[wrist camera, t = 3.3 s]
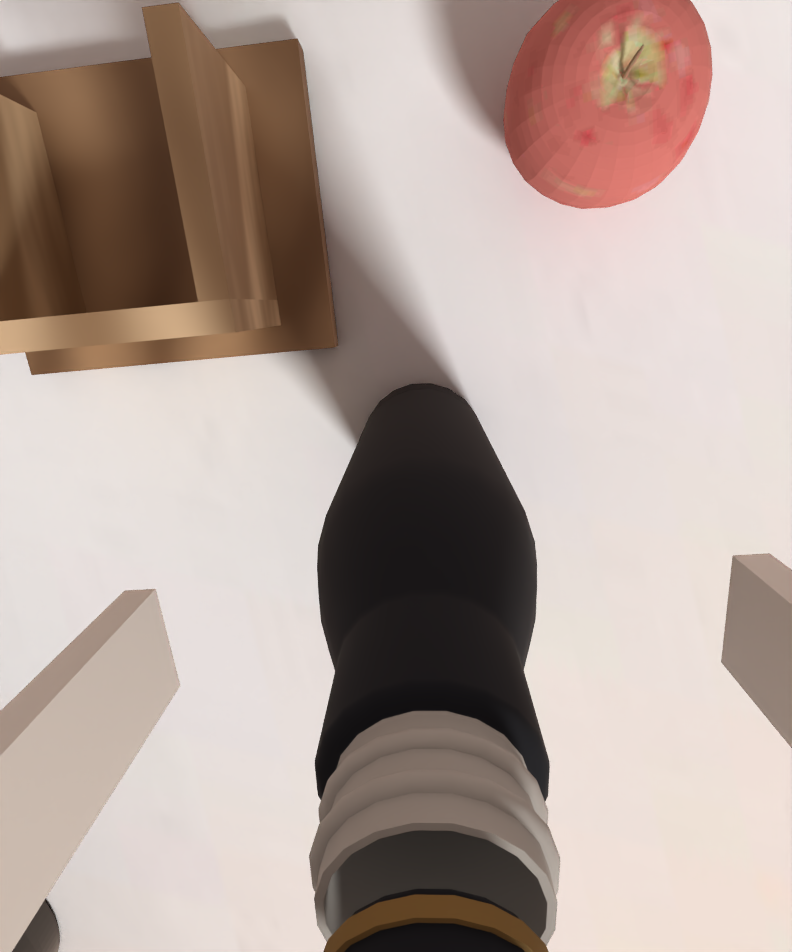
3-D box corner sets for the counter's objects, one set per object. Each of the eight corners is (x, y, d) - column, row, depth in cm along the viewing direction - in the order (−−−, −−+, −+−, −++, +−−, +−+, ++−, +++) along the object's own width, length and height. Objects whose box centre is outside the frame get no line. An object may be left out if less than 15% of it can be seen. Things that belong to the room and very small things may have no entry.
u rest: (46, 372, 29) (-89, 396, 22) (-32, 93, 25) (-231, 1, 18) (338, 345, 28) (307, 361, 21) (303, 50, 24) (248, -68, 17)
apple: (492, 45, 24) (525, -74, 16) (661, 30, 24) (776, -99, 16) (492, 226, 26) (522, 195, 19) (647, 216, 26) (742, 180, 18)
